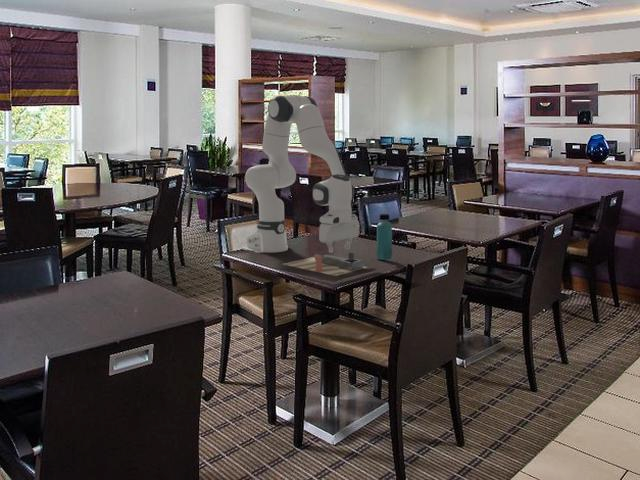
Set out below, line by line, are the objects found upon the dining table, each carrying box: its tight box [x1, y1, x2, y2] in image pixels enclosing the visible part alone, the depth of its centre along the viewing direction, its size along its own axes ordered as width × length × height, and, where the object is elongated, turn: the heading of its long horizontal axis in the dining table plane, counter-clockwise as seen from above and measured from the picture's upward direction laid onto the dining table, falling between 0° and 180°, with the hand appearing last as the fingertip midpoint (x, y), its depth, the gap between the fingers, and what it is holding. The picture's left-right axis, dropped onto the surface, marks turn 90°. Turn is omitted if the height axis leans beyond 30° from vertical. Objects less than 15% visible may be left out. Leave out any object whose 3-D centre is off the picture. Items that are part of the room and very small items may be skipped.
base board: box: [283, 256, 368, 277], centre depth 260 cm, size 29×19×1 cm, turn 47°
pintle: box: [348, 252, 355, 262], centre depth 255 cm, size 2×2×6 cm
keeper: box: [313, 253, 323, 271], centre depth 254 cm, size 7×2×5 cm, turn 7°
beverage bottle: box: [376, 213, 393, 261], centre depth 269 cm, size 6×7×20 cm
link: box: [321, 254, 364, 272], centre depth 259 cm, size 18×7×3 cm, turn 47°
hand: (339, 250), depth 259 cm, fingers open, 8 cm apart
